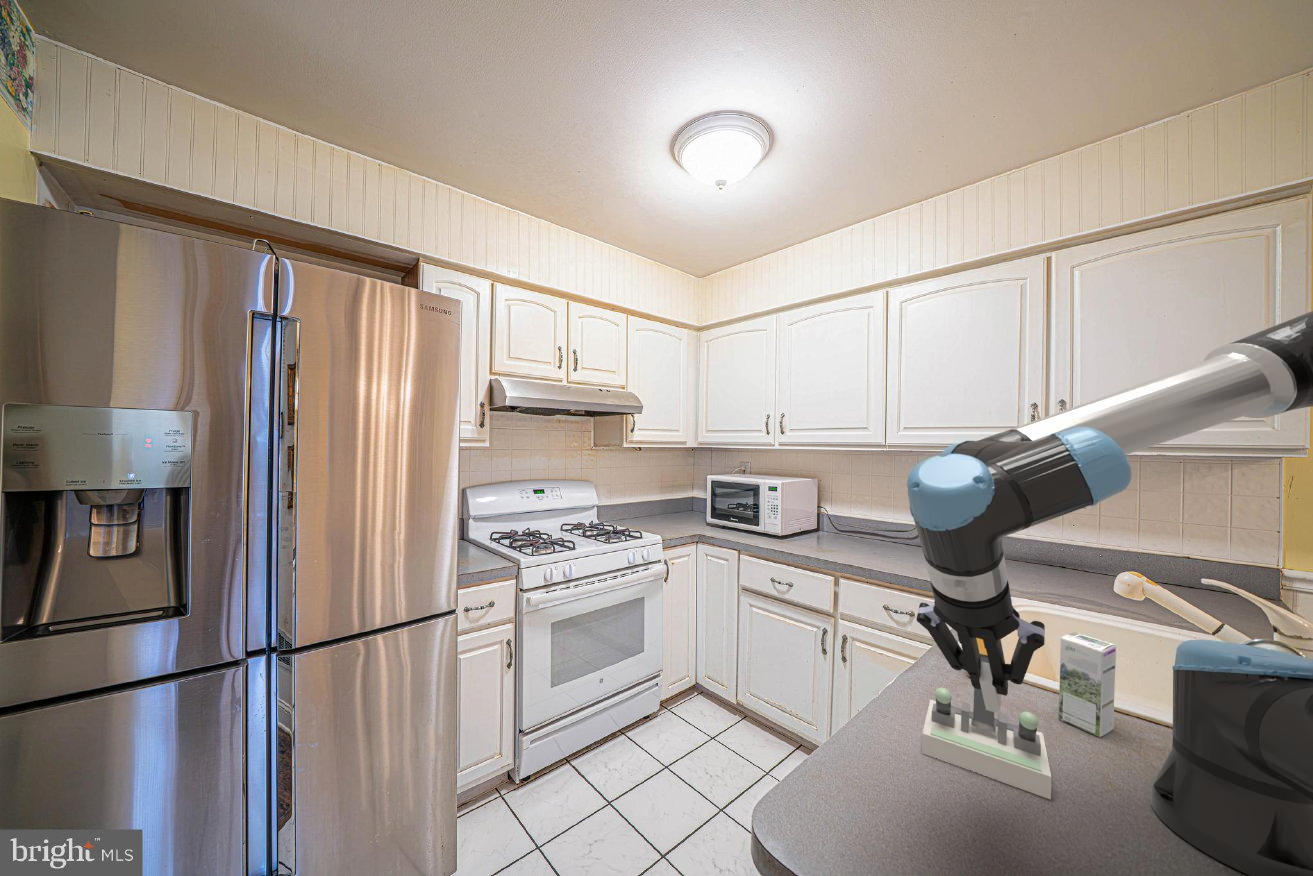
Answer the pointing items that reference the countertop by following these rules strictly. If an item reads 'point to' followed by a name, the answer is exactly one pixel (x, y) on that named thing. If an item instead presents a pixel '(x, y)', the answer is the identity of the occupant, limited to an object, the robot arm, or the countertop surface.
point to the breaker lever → (982, 701)
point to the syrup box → (1087, 683)
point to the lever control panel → (988, 745)
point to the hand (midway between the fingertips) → (993, 702)
